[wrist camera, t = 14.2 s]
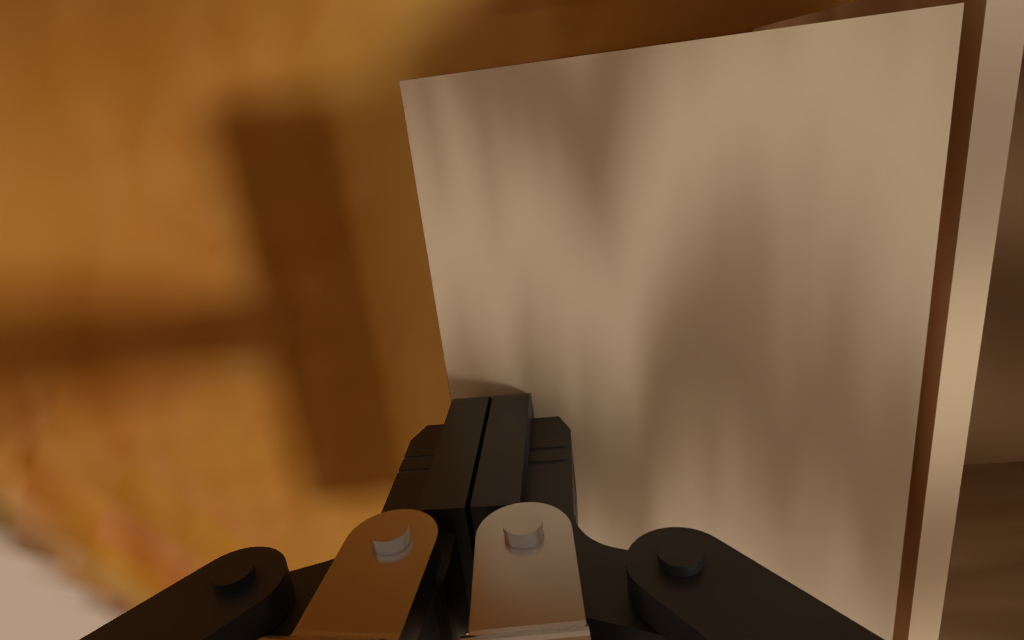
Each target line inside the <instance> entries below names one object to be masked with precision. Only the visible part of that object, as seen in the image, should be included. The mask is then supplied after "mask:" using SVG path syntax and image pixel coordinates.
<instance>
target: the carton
mask: <svg viewBox="0 0 1024 640" xmlns="http://www.w3.org/2000/svg"><path fill="white" fill-rule="evenodd" d="M958 3H964V10H963V18H962V27H961V36H960V45H959V54H958V63H957V72H956V81H955V89H954V98H953V107H952V116H951V125H950V134H949V143H948V152H947V161H946V169H945V178H944V187H943V196H942V205H941V214H940V223H939V232H938V240H937V249H936V258H935V267H934V276H933V285H932V294H931V303H930V312H929V320H928V329H927V338H926V347H925V356H924V365H923V374H922V383H921V392H920V400H919V409H918V418H917V427H916V436H915V445H914V454H913V463H912V471H911V480H910V489H909V498H908V507H907V516H906V525H905V534H904V543H903V551H902V560H901V569H900V578H899V587H898V596H897V605H896V614H895V622H894V631H893V640H1024V0H858V1H854V2H851V3H847V4H843V5H839V6H836V7H832V8H828V9H824V10H821V11H817V12H813V13H810V14H806V15H802V16H798V17H795V18H791V19H787V20H784V21H780V22H776V23H772V24H769V25H765V26H761V27H757V28H754V29H753V32H756V31H763V30H771V29H778V28H785V27H792V26H799V25H807V24H814V23H821V22H828V21H835V20H843V19H850V18H857V17H864V16H871V15H879V14H886V13H893V12H900V11H907V10H915V9H922V8H929V7H936V6H943V5H951V4H958Z"/></svg>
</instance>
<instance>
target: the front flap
mask: <svg viewBox="0 0 1024 640" xmlns="http://www.w3.org/2000/svg"><path fill="white" fill-rule="evenodd" d="M963 10H964V3H958V4H951V5H943V6H936V7H929V8H922V9H915V10H907V11H900V12H893V13H886V14H879V15H871V16H864V17H857V18H850V19H843V20H835V21H828V22H821V23H814V24H807V25H799V26H792V27H785V28H778V29H771V30H763V31H756V32H749V33H742V34H735V35H727V36H720V37H713V38H706V39H699V40H691V41H684V42H677V43H670V44H663V45H655V46H648V47H641V48H634V49H627V50H619V51H612V52H605V53H598V54H591V55H583V56H576V57H569V58H562V59H555V60H547V61H540V62H533V63H526V64H519V65H511V66H504V67H497V68H490V69H483V70H475V71H468V72H461V73H454V74H447V75H439V76H432V77H425V78H418V79H410V80H403V81H399V83H400V89H401V95H402V101H403V107H404V113H405V119H406V126H407V132H408V138H409V144H410V150H411V156H412V162H413V169H414V175H415V181H416V187H417V193H418V199H419V205H420V211H421V218H422V224H423V230H424V236H425V242H426V248H427V254H428V261H429V267H430V273H431V279H432V285H433V291H434V297H435V304H436V310H437V316H438V322H439V328H440V334H441V340H442V347H443V353H444V359H445V365H446V371H447V377H448V383H449V390H450V396H451V402H452V400H453V399H457V398H471V397H485V396H491V398H493V396H497V395H511V394H524V393H531V396H532V404H533V413H534V418H542V417H556V416H559V417H560V418H561V419H562V420H563V421H564V423H565V424H566V425H567V426H568V427H569V428H570V429H571V439H572V450H573V460H574V471H575V481H576V492H577V508H578V527H579V528H580V529H581V530H582V531H583V532H584V533H585V534H586V535H587V536H589V537H590V538H591V539H593V540H595V541H597V542H599V543H602V544H604V545H607V546H611V547H615V548H620V549H625V550H628V549H629V548H630V546H631V544H632V543H633V542H634V541H635V540H636V539H638V538H639V537H640V536H642V535H644V534H646V533H647V532H650V531H653V530H656V529H660V528H666V527H685V528H692V529H696V530H700V531H702V532H705V533H708V534H710V535H712V536H714V537H716V538H717V539H719V540H721V541H722V542H724V543H726V544H727V545H729V546H731V547H732V548H734V549H736V550H737V551H739V552H741V553H742V554H744V555H745V556H747V557H749V558H750V559H752V560H754V561H755V562H757V563H759V564H760V565H762V566H764V567H765V568H767V569H769V570H770V571H772V572H774V573H775V574H777V575H779V576H780V577H782V578H784V579H785V580H787V581H789V582H790V583H792V584H793V585H795V586H797V587H798V588H800V589H802V590H803V591H805V592H807V593H808V594H810V595H812V596H813V597H815V598H817V599H818V600H820V601H822V602H823V603H825V604H827V605H828V606H830V607H832V608H833V609H835V610H836V611H838V612H840V613H841V614H843V615H845V616H846V617H848V618H850V619H851V620H853V621H855V622H856V623H858V624H860V625H861V626H863V627H865V628H866V629H868V630H870V631H871V632H873V633H875V634H876V635H878V636H879V637H881V638H883V639H884V640H893V631H894V622H895V614H896V605H897V596H898V587H899V578H900V569H901V560H902V551H903V543H904V534H905V525H906V516H907V507H908V498H909V489H910V480H911V471H912V463H913V454H914V445H915V436H916V427H917V418H918V409H919V400H920V392H921V383H922V374H923V365H924V356H925V347H926V338H927V329H928V320H929V312H930V303H931V294H932V285H933V276H934V267H935V258H936V249H937V240H938V232H939V223H940V214H941V205H942V196H943V187H944V178H945V169H946V161H947V152H948V143H949V134H950V125H951V116H952V107H953V98H954V89H955V81H956V72H957V63H958V54H959V45H960V36H961V27H962V18H963Z"/></svg>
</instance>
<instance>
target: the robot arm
mask: <svg viewBox="0 0 1024 640" xmlns="http://www.w3.org/2000/svg"><path fill="white" fill-rule="evenodd" d="M466 633H469V635H466ZM80 640H884V639H883V638H881V637H879V636H878V635H876V634H875V633H873V632H871V631H870V630H868V629H866V628H865V627H863V626H861V625H860V624H858V623H856V622H855V621H853V620H851V619H850V618H848V617H846V616H845V615H843V614H841V613H840V612H838V611H836V610H835V609H833V608H832V607H830V606H828V605H827V604H825V603H823V602H822V601H820V600H818V599H817V598H815V597H813V596H812V595H810V594H808V593H807V592H805V591H803V590H802V589H800V588H798V587H797V586H795V585H793V584H792V583H790V582H789V581H787V580H785V579H784V578H782V577H780V576H779V575H777V574H775V573H774V572H772V571H770V570H769V569H767V568H765V567H764V566H762V565H760V564H759V563H757V562H755V561H754V560H752V559H750V558H749V557H747V556H745V555H744V554H742V553H741V552H739V551H737V550H736V549H734V548H732V547H731V546H729V545H727V544H726V543H724V542H722V541H721V540H719V539H717V538H716V537H714V536H712V535H710V534H708V533H705V532H702V531H700V530H696V529H692V528H685V527H666V528H660V529H656V530H653V531H650V532H647V533H646V534H644V535H642V536H640V537H639V538H638V539H636V540H635V541H634V542H633V543H632V544H631V546H630V548H629V549H628V550H625V549H620V548H615V547H611V546H607V545H604V544H602V543H599V542H597V541H595V540H593V539H591V538H590V537H589V536H587V535H586V534H585V533H584V532H583V531H582V530H581V529H580V528H579V527H578V508H577V492H576V481H575V471H574V460H573V450H572V439H571V429H570V428H569V427H568V426H567V425H566V424H565V423H564V421H563V420H562V419H561V418H560V417H559V416H556V417H542V418H534V413H533V404H532V396H531V393H524V394H511V395H497V396H493V398H491V396H485V397H471V398H457V399H453V400H452V402H451V406H450V409H449V412H448V415H447V418H446V421H445V424H442V425H427V426H426V427H425V428H424V429H423V430H422V431H421V432H420V433H419V434H418V435H416V436H415V437H414V438H413V439H412V440H411V442H410V444H409V447H408V449H407V452H406V454H405V460H403V461H402V464H401V466H400V469H399V473H398V474H397V476H396V479H395V481H394V483H393V486H392V488H391V491H390V493H389V496H388V498H387V500H386V503H385V505H384V508H383V510H382V513H380V514H377V515H375V516H373V517H371V518H369V519H367V520H365V521H364V522H362V523H360V524H359V525H358V526H357V527H355V528H354V529H353V530H352V531H351V533H350V534H349V535H348V537H347V538H346V540H345V541H344V543H343V545H342V547H341V548H340V550H339V552H338V554H337V556H336V557H335V559H332V560H329V561H326V562H322V563H319V564H315V565H312V566H308V567H304V568H301V569H297V570H293V571H290V572H289V569H288V566H287V562H286V559H285V557H284V555H283V554H282V553H281V552H279V551H277V550H276V549H273V548H269V547H250V548H244V549H240V550H237V551H234V552H231V553H228V554H226V555H223V556H221V557H219V558H217V559H216V560H214V561H212V562H210V563H209V564H207V565H205V566H203V567H202V568H200V569H198V570H197V571H195V572H193V573H192V574H190V575H188V576H187V577H185V578H183V579H181V580H180V581H178V582H176V583H175V584H173V585H171V586H170V587H168V588H166V589H165V590H163V591H161V592H159V593H158V594H156V595H154V596H153V597H151V598H149V599H148V600H146V601H144V602H142V603H141V604H139V605H137V606H136V607H134V608H132V609H131V610H129V611H127V612H126V613H124V614H122V615H120V616H119V617H117V618H115V619H114V620H112V621H110V622H109V623H107V624H105V625H104V626H102V627H100V628H98V629H97V630H95V631H93V632H92V633H90V634H88V635H87V636H85V637H83V638H82V639H80Z"/></svg>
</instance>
